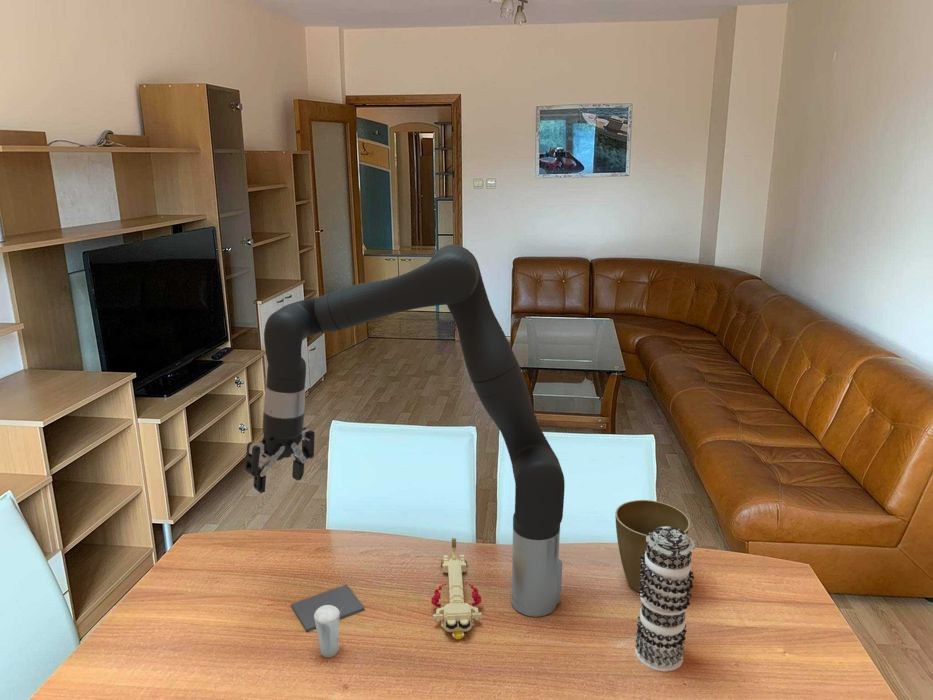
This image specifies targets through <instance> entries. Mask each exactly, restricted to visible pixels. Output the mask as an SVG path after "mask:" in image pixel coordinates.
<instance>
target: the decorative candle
mask: <svg viewBox="0 0 933 700" xmlns="http://www.w3.org/2000/svg"><path fill="white" fill-rule="evenodd" d="M646 542H647V550H646V551H645V552H644V553H643V556H641V561H642V562H641V564H640V567H641V569H640V572H641V574H640V577H641V580H640V584H641V586H640V590H641V591H640V592H639V598H640V601H641V607H640V608H639V609H640V610H639V615H638V616H637V624H636V626H637V628H636V633H635V656H636V658H637V659H638V661H639V662H641V663H642V664H643V665H644V666H645V667H647V668H649V669H652V670H654V671H657V672H664V673H665V672H671V671H675V670H677V669H679V668H680V667H681V665H682V664H683V662H684V657H683V656H685V653H684V652H683V651H685V649H686V646H685V645H684V644H685V643H686V642H685V640H686V638H687V637H686V633H687V629H686V628H687V624H686V612H687V610H688V609H689V607H690V605H691V602H690V601H691V600H690V598H692V594H691V589H693V587H694V584H693V580H695V577H694V572H693V571H692V565H693V561H692V560H693V559H692V553H693V550H695V548H696V546H695V542H694V540H693V539H692V538H691V537H690V536H689V535H688V534H686V533H685V532H684V531H682V530H680V529H678V528H675V527H669V526H665V527H659V528H657V529H655V530H654V531H652V532H650V533H649V534H648V535H647V536H646Z"/></svg>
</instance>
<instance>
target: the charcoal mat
mask: <svg viewBox="0 0 933 700" xmlns="http://www.w3.org/2000/svg"><path fill="white" fill-rule="evenodd" d="M323 605H332V606H335V607H337V608H338V609H339V612H340V611H341V612H340V617H339V621H340V620H342V619H345V618H348V617H350V616H353V615H355V614H357V613H360V612H364V611H365V606H364V605H363V604H362V602H361V601H360V600H359V599H358V597H357V596H356V595H355V593H354V592H353V591H352V589H351V588H350V587H349V585H348V584H343V585H341V586H337V587H335V588H332V589H328V590H326V591H324V592H321V593H318V594H315V595H312V596H309V597H306V598H304V599H301V600H299V601H296V602H293V603H291V604H290V607H291V609H292V610H293V612H294V614H295V615H296V617H297V619H298V620H299V622H300V623H301V626H302V627H303V628H304V629H305V632H306V633H308V632H310V631H313V630H317V629H316V625H315V620H314V614H315V612H316V610H317V609H318V608H319V607H321V606H323ZM342 606H343V608H342ZM341 609H342V610H341Z"/></svg>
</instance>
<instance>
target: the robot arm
mask: <svg viewBox="0 0 933 700" xmlns="http://www.w3.org/2000/svg"><path fill="white" fill-rule="evenodd" d="M479 265H480V264H479V262H478V260H477V258H476V257H475V255H474V254H473V253H472V252H471V251H470V250H469V249H467V248H465V246H461V245H459V244H447V245H445V246H443V247H442V246H441V247H440V248H439V249H438V250H436V252H435V253H434V254H433V255H432V257H431V258H430V260H429V261H428V262H426V263H424V264H423V265H420V266H418V267H416V268H415V269H412V270H411V271H407V272H406V273H403V274H400V275H397V276H393V277H389V278H387V279H380V280H375V281H374V280H373V281H370V282H369V281H368V282H363V283H357V284H353V285H350V286H347V287H344V288H340V289H337V290H334V291H330V292H327V293H325V294H322V295H320V296H316V297H312V298H307V299H302V300H299V301H295V302H291V303H289V304H285V305H284V306H282V307H281V308H279V309H277V310H276V311H274V312H273V313H271V314H270V315H269V317H268V318H267V320H266V322H265V325H264V331H263V344H264V351H265V355H266V361H267V371H266V386H265V393H264V397H263V398H264V399H263V412H262V413H263V414H262V429H261V430H262V434H263V438H262V440H261V442H257V443H254V442H252V441H250V442H248V443H247V444H246V445H247V446H246V454H245V461H244V462H245V463H244V471H245V472H246V473H248V474H250V475H251V476H252V477H253V488H254V489H255V490H256V491H257V492H258V493H260V494H263V493H265V492H266V484H267V483H266V482H267V481H266V480H267V475H266V474H267V472H268V471H269V469H270V468H272V467H274V465H275V463H276V462H277V461H281V460H283V459H287V458H291V456H292V457H293V458H294V460H293V461H292V474H291V476H292V478H293V479H294V480H296V481H301V480H302V478H303V476H304V475H305V474H304V472H305V463H306V462H307V461H308V459H312V458H314V456H315V436H316V435H315V433H316V432H315V431H314V430H312V429H310V428H309V427H308V426H307V427H306V426H304V419H305V407H306V391H305V390H306V389H305V388H306V378H307V376H306V375H307V364H306V360H305V359H304V358H303V357H302V346H303V345H302V344H303V341H304V340H305V339H307V338H308V337H311V336H314V335H318V334H321V333H324V332H327V333H335V332H339V331H343V330H346V329H349V328H352V327H355V326H358V325H361V324H365V323H368V322H371V321H374V320H378V319H380V318H383V317H388V316H390V315H393V314H397V313H401V312H406V311H411V310H416V309H422V308H428V307H430V308H431V307H436V306H443V305H444V306H445V305H446V306H447V308H448V310H449V312H450V314H451V316H452V319H453V320H454V324H455V326H456V329H457V333H458V337H459V343H460V347H461V350H462V354H463V358H464V363H465V367H466V370H467V372H468V376H469V378H470V381H471V383H472V385H473V388H474V390H475V392H476V394H477V397H478V398H479V401H480V402H481V404H482V406H483V408H484V409H485V411H486V412H487V414H488V415H489V417H490V418H491V420H492V421H493V422H494V424H495V425H496V427H497V428H498V430H499V431H500V433H501V435H502V438H503V441H504V443H505V446H506V448H507V452H508V455H509V459H510V463H511V468H512V474H513V480H514V484H515V488H514V489H515V491H514V492H515V493H514V494H515V495H514V497H515V498H514V513H513V515H512V549H511V550H512V555H511V556H512V557H511V595H510V596H511V597H510V598H511V599H510V600H511V601H510V602H511V605H512V607H513V608H514V610H516V611H517V612H518V613H520V614H522V615H525V616H527V617H536V618H537V617H545V616H548V615H549V614H552V613H553V612H554V611H555V610H556V608H557V605H559V604H560V603H561V601H562V599H561V598H562V582H563V581H562V580H563V578H562V577H563V561H562V560H561V559H560V538H561V537H560V535H561V523H562V521H563V517H564V502H565V488H566V487H565V485H566V484H565V476H564V472H563V469H562V466H561V463H560V460H559V458H558V456H557V455H556V453H555V451H554V450H553V448H552V446H551V444H550V443H549V441H548V440H547V437H546V436H545V435H544V432H543V430H542V428H541V426H540V425H539V422H538V420H537V417H536V415H535V411H534V407H533V403H532V402H533V401H532V398H531V394H530V391H529V389H528V385H527V382H526V379H525V377H524V374H523V372H522V371H523V370H522V369H521V366H520V365H519V362H518V360H517V357H516V355H515V353H514V351H513V348H512V347H511V345H510V342H509V340H508V339H507V337H506V334H505V333H504V330H503V328H502V327H501V324H500V323H499V321H498V319H497V317H496V314H495V312H494V311H493V309H492V306H491V302H490V300H489V296H488V294H487V291H486V288H485V287H486V286H485V284H484V280H483V277H482V273H481V270H480V266H479ZM299 444H301V448H300V447H299ZM267 456H268V458H269V459H268V458H267Z"/></svg>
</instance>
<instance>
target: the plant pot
mask: <svg viewBox="0 0 933 700" xmlns="http://www.w3.org/2000/svg"><path fill="white" fill-rule="evenodd" d="M614 513H615V516H614V517H615V528H616V529H615V531H616V539H617V545H618V551H619V556H620V557H619V558H620V560H621V565H622V569H623V573H624V576H625V579H626V581H627V584H628V586H629V587H630V588H631V589H632V590H634V591H636V592H637V593H640V591H641V590H640V586H641V584H640V580H641V577H640V574H641V572H640V569H641V567H640V564H641V562H642V561H641V556H643V553H644V552H645V551H646V550H647V542H646V536H647V535H648V534H649V533H650V532H652V531H654V530H655V529H657V528H659V527H665V526H669V527H675V528H678V529H680V530H682V531H684V532H685V533H686V534H687V535H688V533H689V531H690V527H691V521H690V518H688V516H687V514H685V513H684V512H683V511H681V510H680V509H678V508H677V507H675V506H672V505H671V504H668V503H665V502H661V501H657V500H652V499H651V500H650V499H638V500H629V501H626V502H623V503H622V504H620V505H618V507H616V509H615V512H614Z"/></svg>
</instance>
